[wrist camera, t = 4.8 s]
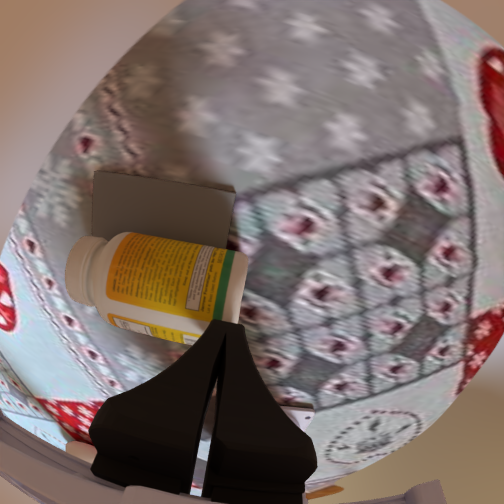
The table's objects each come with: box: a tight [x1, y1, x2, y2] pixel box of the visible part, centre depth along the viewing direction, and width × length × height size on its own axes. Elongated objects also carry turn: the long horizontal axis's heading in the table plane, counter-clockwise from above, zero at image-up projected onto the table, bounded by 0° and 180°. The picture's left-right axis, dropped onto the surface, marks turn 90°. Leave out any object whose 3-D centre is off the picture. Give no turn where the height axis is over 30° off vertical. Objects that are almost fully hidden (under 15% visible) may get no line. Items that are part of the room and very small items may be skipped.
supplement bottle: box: [65, 232, 248, 346], centre depth 15 cm, size 5×5×10 cm
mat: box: [92, 171, 236, 249], centre depth 18 cm, size 10×9×1 cm
